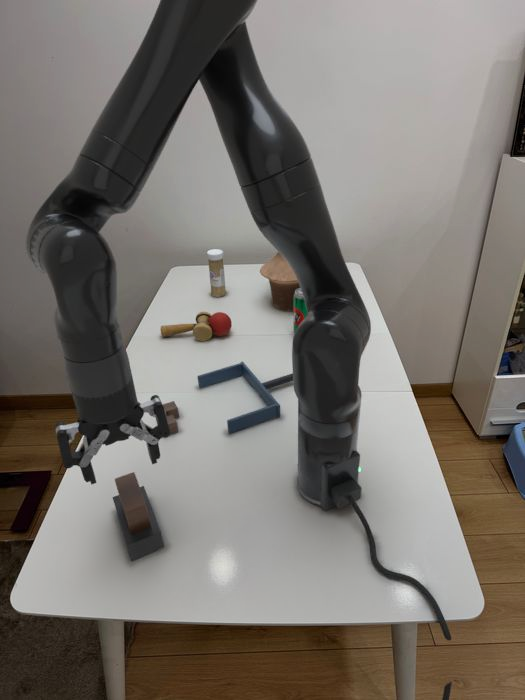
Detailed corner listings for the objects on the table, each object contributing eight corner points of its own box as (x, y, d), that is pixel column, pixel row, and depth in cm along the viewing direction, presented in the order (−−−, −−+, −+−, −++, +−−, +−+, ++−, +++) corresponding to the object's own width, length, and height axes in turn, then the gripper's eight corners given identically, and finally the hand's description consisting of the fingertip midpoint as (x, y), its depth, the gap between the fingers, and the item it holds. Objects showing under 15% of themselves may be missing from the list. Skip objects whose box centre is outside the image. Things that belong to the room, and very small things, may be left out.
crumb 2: (178, 431, 94) (176, 421, 93) (165, 435, 93) (163, 425, 92) (174, 424, 96) (172, 414, 95) (162, 428, 95) (160, 418, 94)
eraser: (164, 547, 72) (155, 509, 68) (131, 561, 71) (119, 522, 66) (147, 500, 80) (138, 462, 75) (116, 511, 78) (105, 474, 74)
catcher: (315, 404, 99) (315, 393, 98) (229, 434, 93) (228, 422, 91) (274, 362, 113) (274, 351, 111) (198, 386, 106) (196, 375, 105)
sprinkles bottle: (208, 295, 145) (203, 253, 138) (216, 289, 148) (212, 247, 141) (221, 298, 143) (217, 255, 136) (229, 292, 146) (225, 249, 139)
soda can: (312, 339, 121) (313, 296, 115) (292, 338, 122) (291, 295, 116) (314, 329, 125) (315, 287, 119) (295, 328, 126) (295, 286, 120)
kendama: (162, 350, 122) (232, 338, 121) (155, 326, 120) (227, 314, 118) (168, 339, 129) (234, 328, 128) (162, 317, 127) (229, 305, 126)
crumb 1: (179, 417, 98) (177, 407, 96) (167, 421, 97) (165, 411, 95) (175, 410, 100) (173, 400, 98) (163, 414, 99) (161, 404, 97)
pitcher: (327, 292, 143) (331, 196, 129) (316, 319, 130) (318, 215, 115) (270, 287, 148) (267, 194, 133) (253, 313, 134) (248, 212, 119)
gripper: (42, 411, 55) (75, 506, 64) (164, 377, 60) (179, 470, 69) (37, 376, 61) (68, 468, 70) (149, 349, 66) (165, 438, 75)
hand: (124, 469), depth 69 cm, fingers open, 8 cm apart
